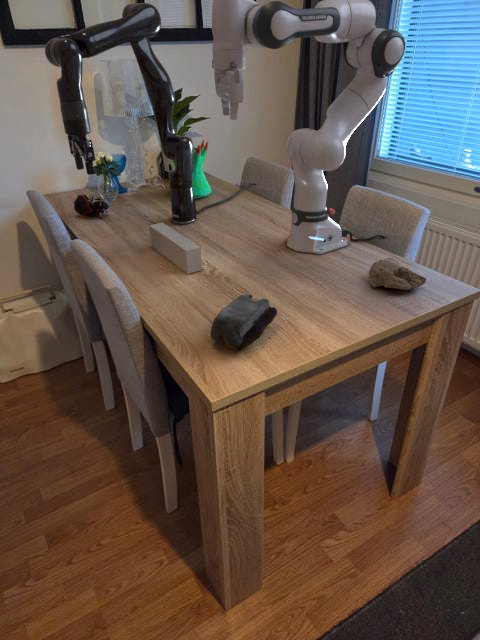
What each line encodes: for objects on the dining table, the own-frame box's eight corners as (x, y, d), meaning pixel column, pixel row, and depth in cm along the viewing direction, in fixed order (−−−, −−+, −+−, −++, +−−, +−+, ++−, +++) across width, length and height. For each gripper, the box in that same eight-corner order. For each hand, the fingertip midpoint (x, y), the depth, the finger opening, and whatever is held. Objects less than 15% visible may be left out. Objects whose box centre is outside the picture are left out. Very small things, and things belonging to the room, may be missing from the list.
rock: (246, 362, 102) (246, 333, 98) (204, 348, 107) (203, 320, 103) (278, 325, 116) (280, 298, 112) (240, 314, 121) (241, 288, 116)
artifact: (387, 301, 128) (428, 294, 133) (394, 279, 124) (436, 272, 129) (353, 270, 142) (391, 265, 147) (358, 249, 138) (397, 245, 142)
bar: (151, 246, 161) (149, 225, 157) (164, 243, 164) (162, 222, 160) (187, 273, 142) (186, 250, 138) (201, 270, 145) (200, 247, 140)
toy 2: (167, 190, 223) (163, 137, 210) (207, 188, 227) (205, 135, 214) (172, 202, 206) (167, 145, 193) (214, 199, 210) (213, 143, 197)
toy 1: (101, 187, 180) (72, 186, 186) (93, 207, 178) (64, 205, 183) (117, 205, 191) (89, 203, 196) (109, 223, 188) (82, 221, 194)
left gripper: (96, 118, 131) (106, 174, 140) (78, 113, 140) (88, 165, 149) (71, 120, 127) (82, 178, 136) (54, 115, 136) (66, 169, 145)
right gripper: (250, 63, 113) (249, 122, 120) (231, 60, 130) (232, 112, 137) (226, 63, 112) (226, 123, 119) (210, 61, 128) (212, 113, 136)
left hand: (85, 171), depth 142 cm, fingers open, 8 cm apart
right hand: (229, 117), depth 128 cm, fingers open, 8 cm apart
